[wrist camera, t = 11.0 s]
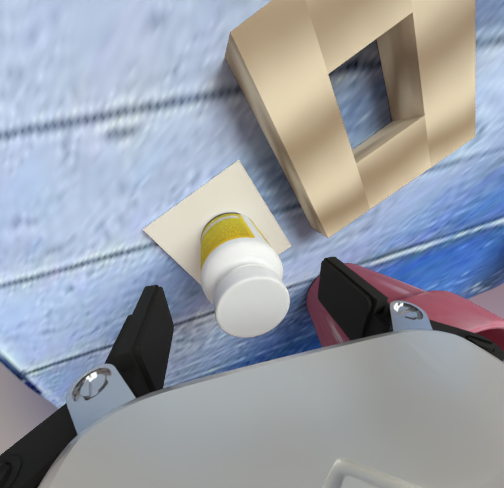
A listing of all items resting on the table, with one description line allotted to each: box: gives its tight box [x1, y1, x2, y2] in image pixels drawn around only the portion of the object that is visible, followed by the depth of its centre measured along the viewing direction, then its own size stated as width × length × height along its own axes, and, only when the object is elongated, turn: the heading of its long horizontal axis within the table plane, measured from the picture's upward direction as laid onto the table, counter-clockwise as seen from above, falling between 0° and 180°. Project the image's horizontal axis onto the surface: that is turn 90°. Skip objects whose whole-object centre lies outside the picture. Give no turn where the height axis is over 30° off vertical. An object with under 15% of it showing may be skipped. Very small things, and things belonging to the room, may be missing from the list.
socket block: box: [225, 0, 475, 238], centre depth 16 cm, size 16×16×3 cm
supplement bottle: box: [200, 211, 290, 338], centre depth 14 cm, size 5×5×10 cm
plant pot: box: [306, 263, 504, 351], centre depth 20 cm, size 14×14×13 cm
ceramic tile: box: [143, 160, 291, 286], centre depth 19 cm, size 10×10×1 cm
